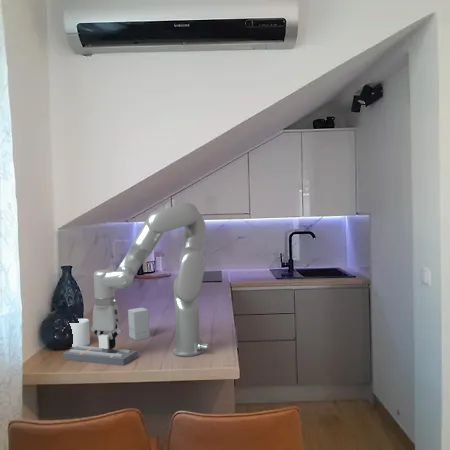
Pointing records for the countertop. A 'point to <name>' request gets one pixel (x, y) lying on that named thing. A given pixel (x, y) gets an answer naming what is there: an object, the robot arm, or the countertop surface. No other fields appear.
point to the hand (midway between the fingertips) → (107, 347)
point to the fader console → (100, 355)
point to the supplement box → (138, 323)
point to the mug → (80, 333)
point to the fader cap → (104, 342)
